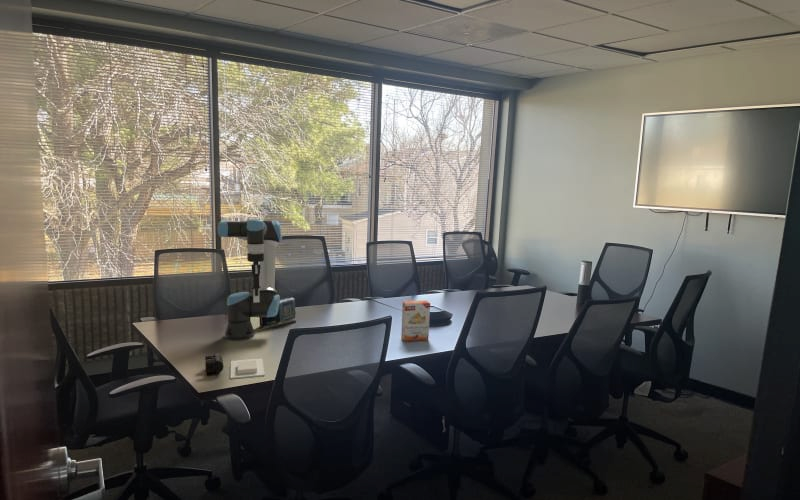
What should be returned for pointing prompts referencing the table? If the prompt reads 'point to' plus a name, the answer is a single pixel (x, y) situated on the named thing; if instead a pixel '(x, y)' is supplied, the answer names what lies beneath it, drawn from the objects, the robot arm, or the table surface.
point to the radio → (280, 314)
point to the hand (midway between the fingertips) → (256, 301)
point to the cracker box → (415, 320)
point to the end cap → (213, 364)
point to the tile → (247, 367)
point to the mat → (235, 374)
